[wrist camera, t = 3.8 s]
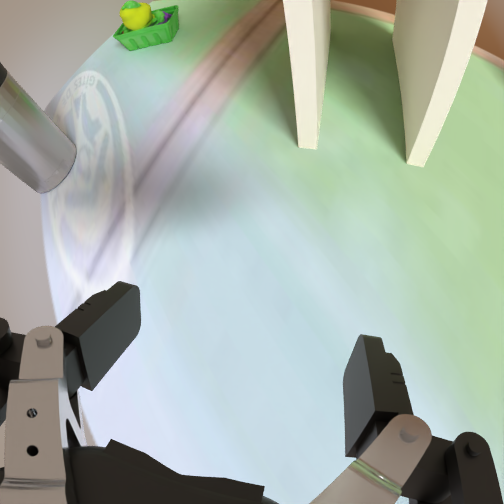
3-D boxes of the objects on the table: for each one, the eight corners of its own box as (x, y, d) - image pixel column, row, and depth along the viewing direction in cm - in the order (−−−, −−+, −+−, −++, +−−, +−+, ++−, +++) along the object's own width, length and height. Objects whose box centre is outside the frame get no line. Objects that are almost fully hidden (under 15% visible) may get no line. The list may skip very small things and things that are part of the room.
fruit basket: (187, 24, 47) (169, -22, 37) (174, 48, 45) (152, -3, 34) (136, 35, 50) (115, -5, 39) (119, 60, 47) (94, 17, 36)
